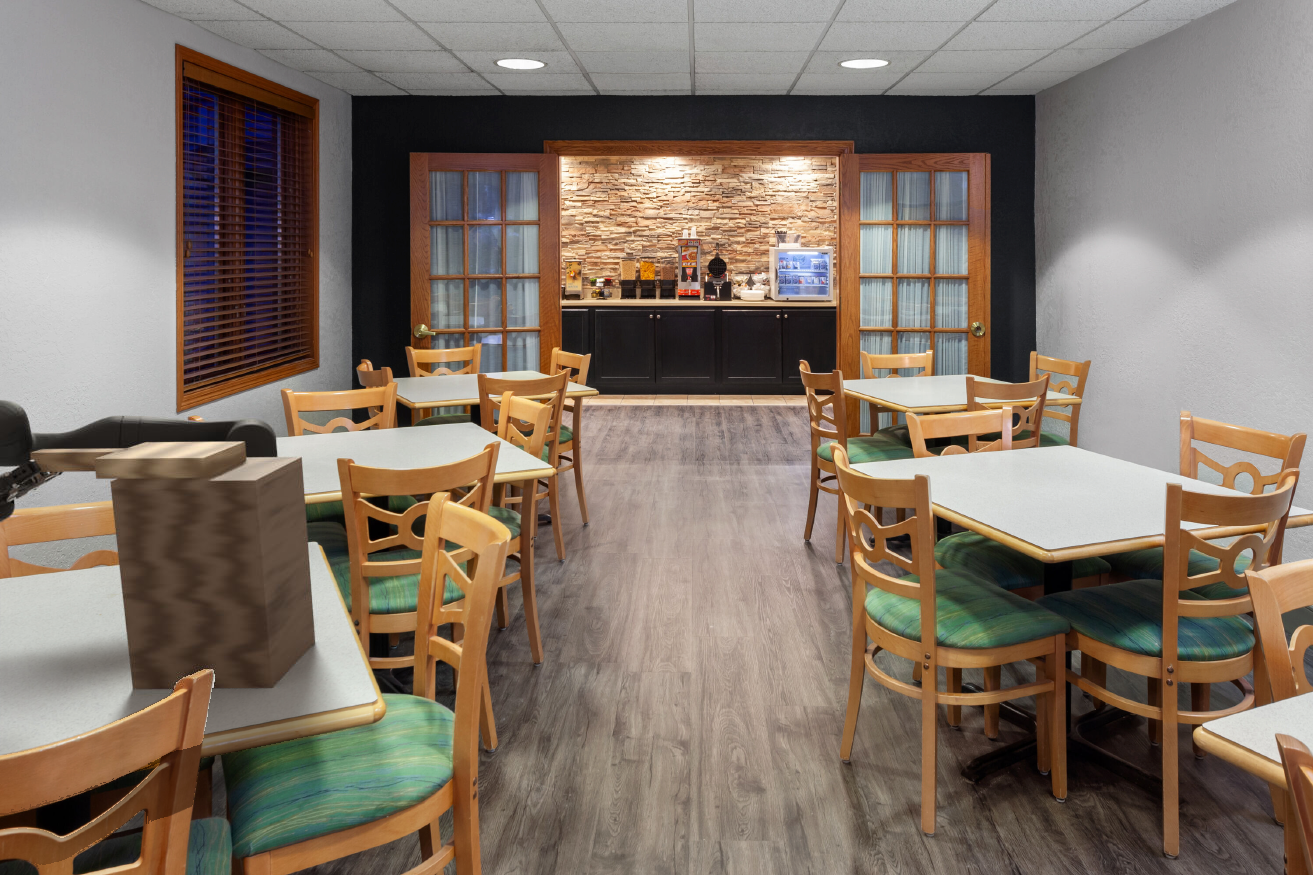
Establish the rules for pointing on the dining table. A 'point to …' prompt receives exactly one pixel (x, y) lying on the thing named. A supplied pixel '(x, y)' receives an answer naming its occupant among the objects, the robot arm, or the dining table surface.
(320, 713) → the dining table surface
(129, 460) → the bread board
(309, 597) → the cabinet
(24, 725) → the dining table surface
